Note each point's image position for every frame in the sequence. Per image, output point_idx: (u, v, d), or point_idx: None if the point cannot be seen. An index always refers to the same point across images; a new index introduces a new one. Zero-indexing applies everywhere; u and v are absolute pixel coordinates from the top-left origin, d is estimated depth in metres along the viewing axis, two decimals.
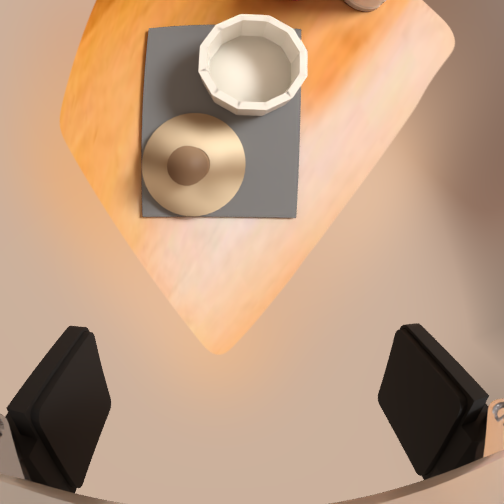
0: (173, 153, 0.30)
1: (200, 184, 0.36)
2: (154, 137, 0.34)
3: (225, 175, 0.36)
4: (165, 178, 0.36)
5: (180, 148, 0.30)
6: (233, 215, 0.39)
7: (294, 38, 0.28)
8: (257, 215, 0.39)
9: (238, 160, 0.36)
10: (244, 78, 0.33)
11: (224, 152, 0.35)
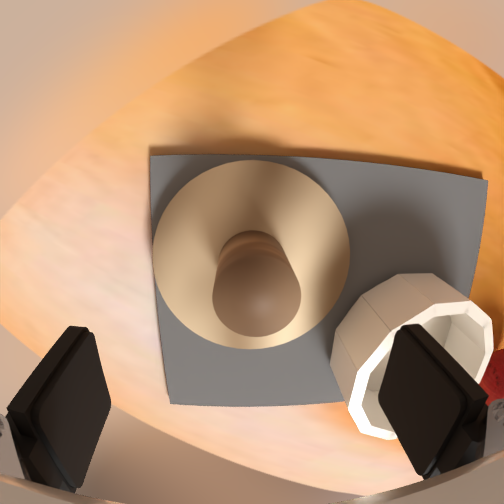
0: (286, 270, 0.14)
1: (213, 277, 0.19)
2: (311, 188, 0.18)
3: None
4: (226, 210, 0.18)
5: (296, 285, 0.14)
6: (161, 323, 0.21)
7: None
8: (165, 357, 0.22)
9: (258, 339, 0.21)
10: None
11: None
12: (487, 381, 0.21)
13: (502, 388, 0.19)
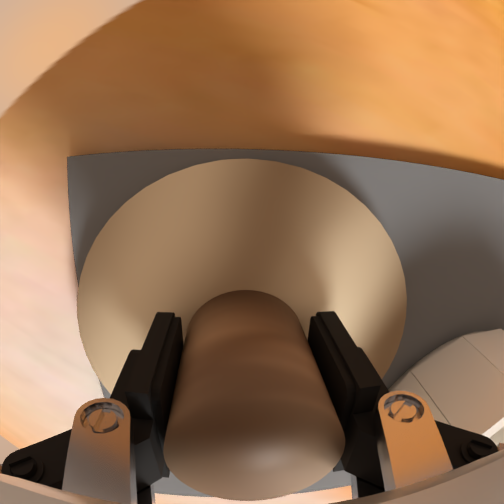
0: (321, 417, 0.06)
1: None
2: (353, 213, 0.10)
3: None
4: (194, 254, 0.10)
5: (338, 436, 0.06)
6: None
7: None
8: None
9: None
10: None
11: None
12: None
13: None
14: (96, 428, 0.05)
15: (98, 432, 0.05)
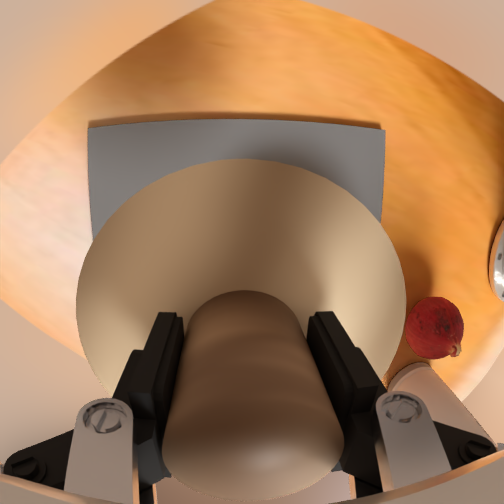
0: (320, 417, 0.06)
1: None
2: (352, 213, 0.10)
3: None
4: (193, 254, 0.10)
5: (337, 437, 0.06)
6: None
7: None
8: None
9: None
10: None
11: None
12: (411, 327, 0.26)
13: (427, 333, 0.24)
14: (99, 428, 0.05)
15: (101, 432, 0.05)
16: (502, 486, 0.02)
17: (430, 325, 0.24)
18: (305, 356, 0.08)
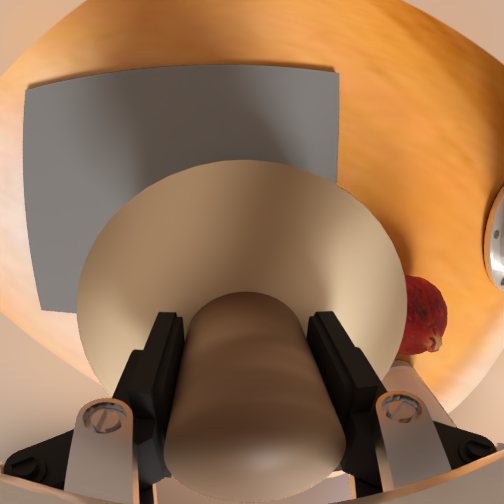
0: (322, 419, 0.06)
1: None
2: (354, 215, 0.10)
3: None
4: (194, 255, 0.10)
5: (338, 438, 0.06)
6: (28, 225, 0.21)
7: None
8: (33, 258, 0.22)
9: None
10: None
11: None
12: None
13: None
14: (99, 428, 0.05)
15: (101, 432, 0.05)
16: (502, 486, 0.02)
17: None
18: (307, 358, 0.08)
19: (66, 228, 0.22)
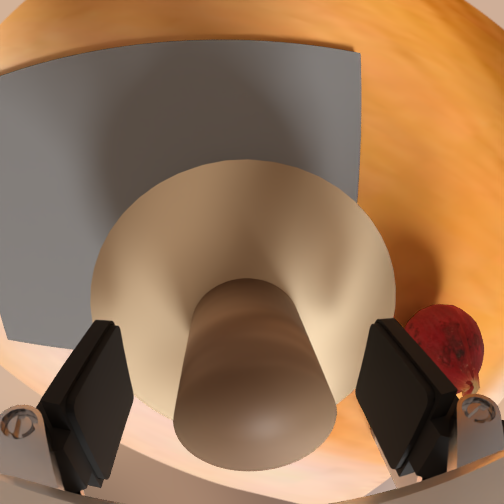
0: (314, 384, 0.07)
1: (185, 348, 0.12)
2: (344, 208, 0.11)
3: None
4: (200, 245, 0.11)
5: (329, 404, 0.07)
6: None
7: None
8: None
9: None
10: None
11: None
12: None
13: None
14: (16, 435, 0.04)
15: (18, 438, 0.04)
16: (502, 486, 0.02)
17: (435, 349, 0.15)
18: (301, 334, 0.09)
19: (26, 247, 0.17)
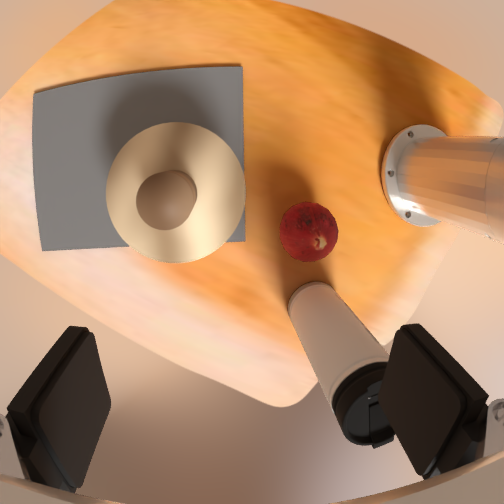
0: (181, 180, 0.21)
1: None
2: (211, 137, 0.25)
3: (162, 239, 0.27)
4: (153, 157, 0.25)
5: (188, 190, 0.21)
6: (35, 187, 0.30)
7: None
8: (38, 211, 0.31)
9: (183, 254, 0.28)
10: None
11: (191, 235, 0.27)
12: (280, 228, 0.31)
13: (290, 229, 0.30)
14: None
15: None
16: (502, 486, 0.02)
17: (293, 221, 0.30)
18: (185, 177, 0.23)
19: (63, 186, 0.31)
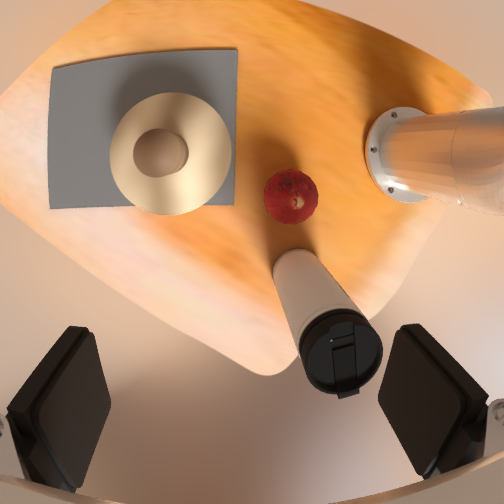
0: (172, 135, 0.24)
1: None
2: (203, 106, 0.28)
3: (155, 193, 0.30)
4: (152, 121, 0.28)
5: (177, 144, 0.24)
6: (48, 151, 0.34)
7: None
8: (49, 173, 0.34)
9: (173, 207, 0.31)
10: None
11: (181, 190, 0.30)
12: (264, 191, 0.34)
13: (272, 191, 0.32)
14: None
15: None
16: (502, 486, 0.02)
17: (275, 184, 0.32)
18: (177, 135, 0.26)
19: (73, 150, 0.34)
